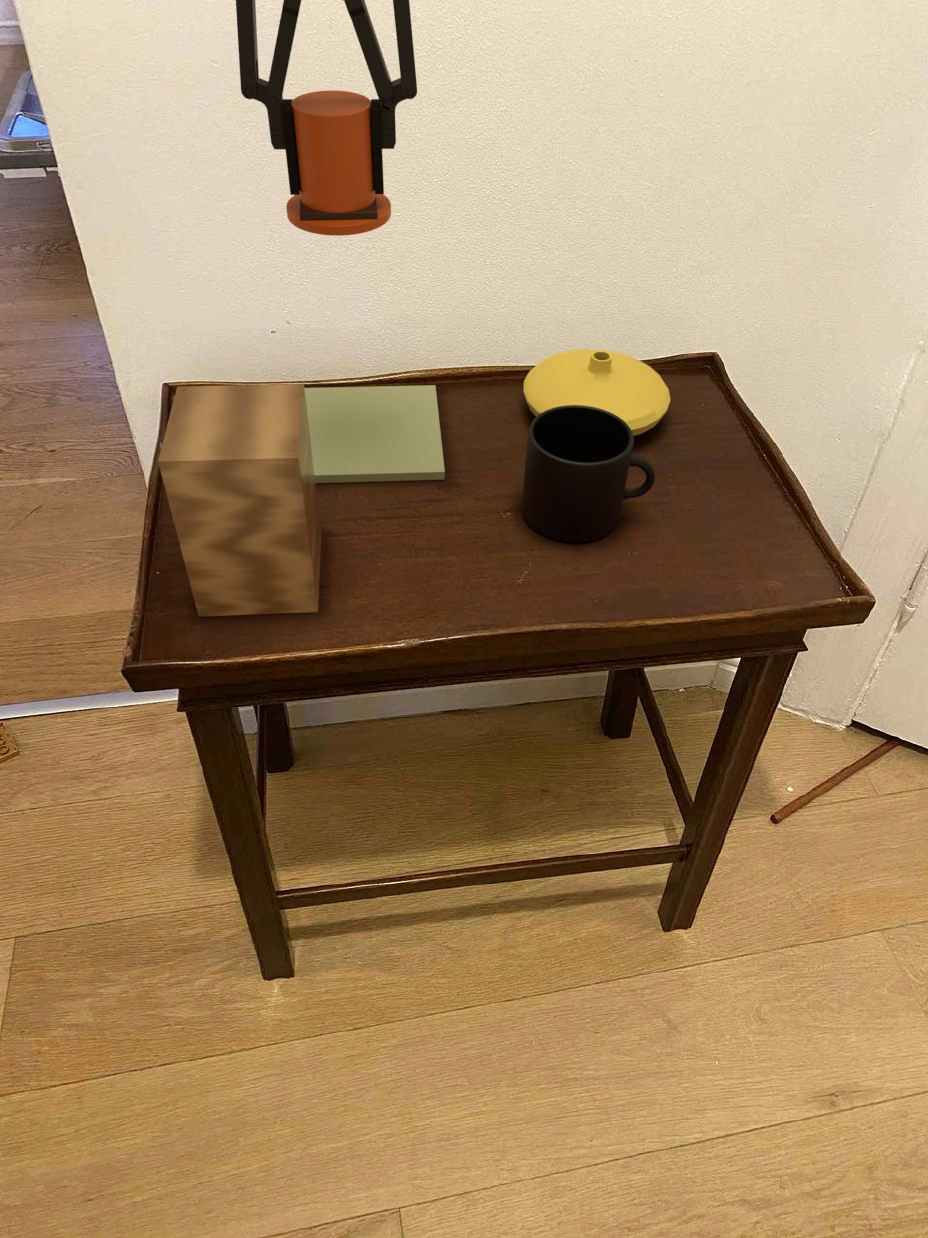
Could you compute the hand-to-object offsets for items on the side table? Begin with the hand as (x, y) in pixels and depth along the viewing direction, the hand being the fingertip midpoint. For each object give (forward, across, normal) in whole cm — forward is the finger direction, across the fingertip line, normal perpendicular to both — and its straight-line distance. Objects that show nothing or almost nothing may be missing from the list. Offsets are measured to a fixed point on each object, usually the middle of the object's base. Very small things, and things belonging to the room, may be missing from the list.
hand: (337, 187), depth 78 cm
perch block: (+25, -8, -21) cm, 34 cm away
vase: (+25, +26, +3) cm, 36 cm away
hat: (+2, 0, 0) cm, 2 cm away
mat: (+25, 0, 0) cm, 25 cm away
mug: (+25, +22, -14) cm, 36 cm away
